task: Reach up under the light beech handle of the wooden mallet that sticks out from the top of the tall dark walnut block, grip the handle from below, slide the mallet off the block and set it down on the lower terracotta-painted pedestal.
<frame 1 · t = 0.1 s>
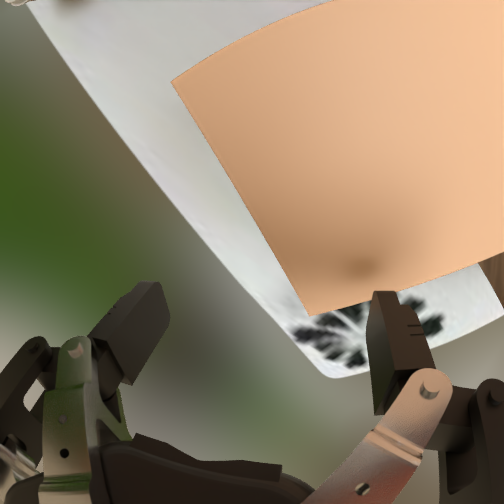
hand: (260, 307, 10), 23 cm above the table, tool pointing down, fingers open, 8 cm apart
pedestal: (348, 101, 24), on the table
walnut block: (494, 178, 24), on the table
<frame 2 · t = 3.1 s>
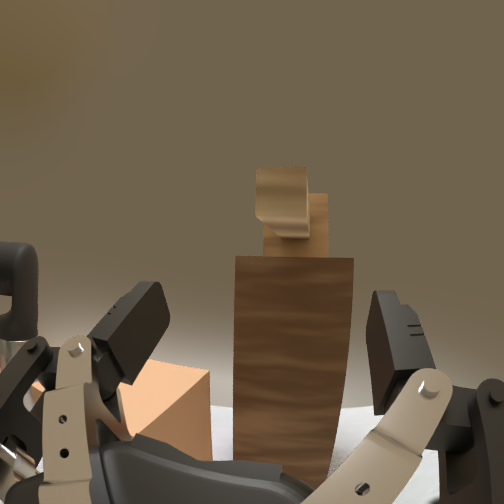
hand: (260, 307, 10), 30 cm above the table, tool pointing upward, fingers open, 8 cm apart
mallet: (295, 257, 30), point 32 cm above the table, touching walnut block
walnut block: (283, 466, 33), on the table
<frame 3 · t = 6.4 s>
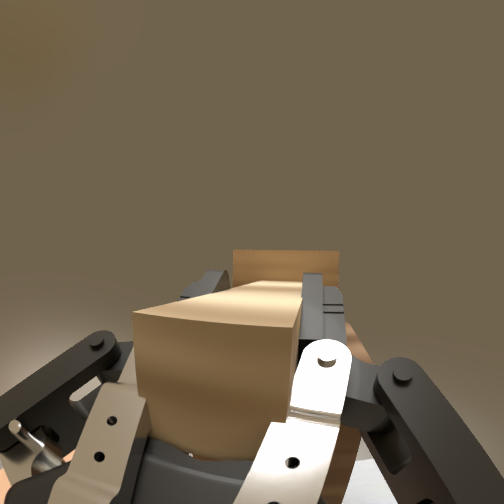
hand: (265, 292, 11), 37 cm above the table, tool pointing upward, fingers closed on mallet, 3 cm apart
mallet: (281, 354, 18), point 32 cm above the table, touching gripper, walnut block
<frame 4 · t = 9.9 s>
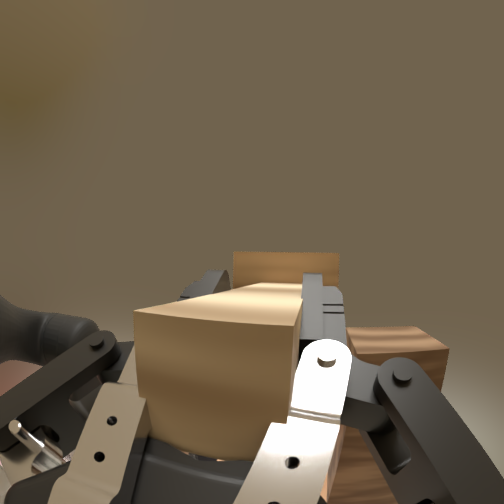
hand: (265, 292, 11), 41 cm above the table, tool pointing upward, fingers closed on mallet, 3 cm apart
mallet: (281, 356, 18), point 36 cm above the table, touching gripper
walnut block: (355, 496, 32), on the table
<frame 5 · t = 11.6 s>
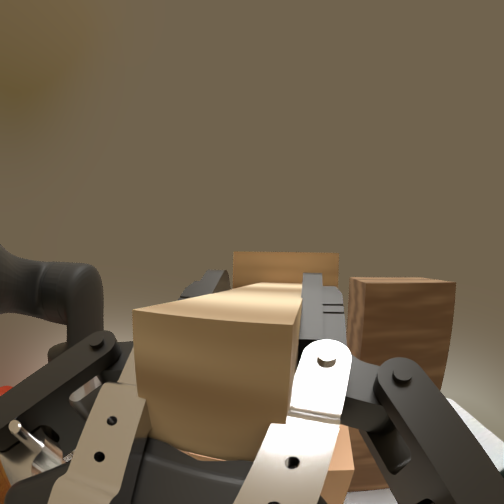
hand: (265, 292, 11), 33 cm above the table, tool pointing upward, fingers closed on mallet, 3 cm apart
mallet: (281, 356, 18), point 28 cm above the table, touching gripper
walnut block: (366, 464, 34), on the table
disposable coffee cup: (4, 501, 12), on the table
when the fingers open (26 cm above the table, at t = 13.2 s): mallet stays where it is, resting on pedestal.
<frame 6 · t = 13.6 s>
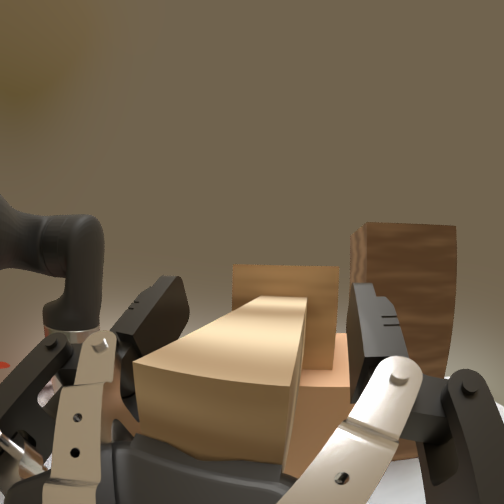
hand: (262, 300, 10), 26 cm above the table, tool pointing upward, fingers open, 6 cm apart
mallet: (281, 368, 18), point 20 cm above the table, touching pedestal
walnut block: (374, 437, 34), on the table
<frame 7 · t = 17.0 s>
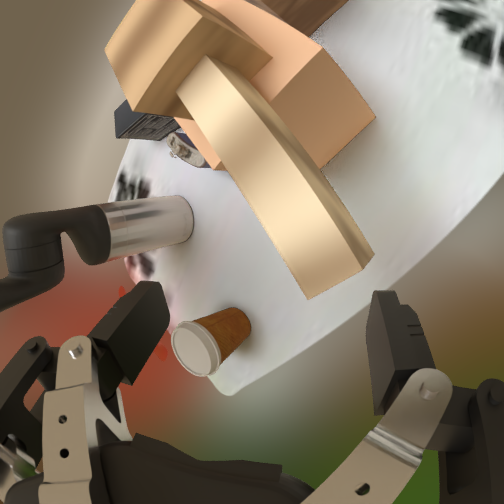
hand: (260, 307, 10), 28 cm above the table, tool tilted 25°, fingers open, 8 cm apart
pedestal: (310, 111, 34), on the table
mallet: (239, 90, 18), point 20 cm above the table, touching pedestal
small box: (173, 117, 49), on the table
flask: (224, 153, 44), on the table
disposable coffee cup: (237, 323, 50), on the table
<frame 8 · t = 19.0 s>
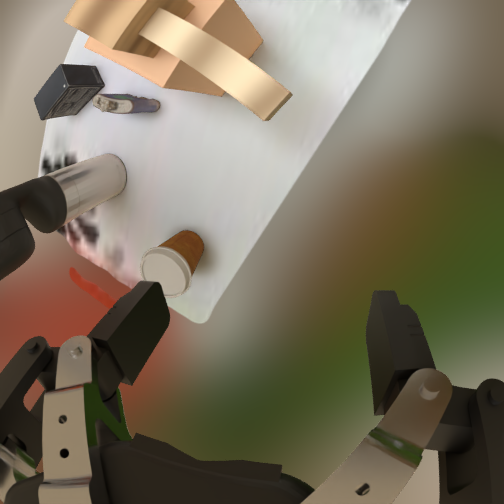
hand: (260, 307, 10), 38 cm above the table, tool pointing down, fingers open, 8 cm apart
pedestal: (208, 49, 37), on the table
mallet: (173, 31, 20), point 20 cm above the table, touching pedestal
small box: (85, 90, 43), on the table
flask: (140, 103, 44), on the table
disposable coffee cup: (189, 244, 55), on the table
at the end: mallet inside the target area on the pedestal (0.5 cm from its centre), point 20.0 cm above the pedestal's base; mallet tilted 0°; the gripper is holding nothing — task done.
